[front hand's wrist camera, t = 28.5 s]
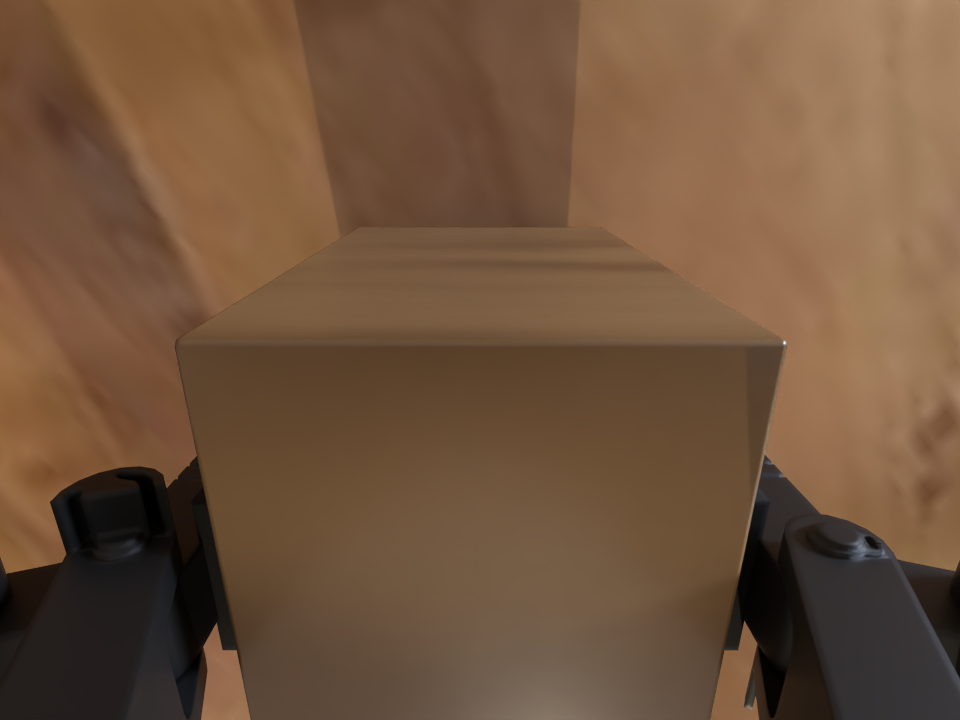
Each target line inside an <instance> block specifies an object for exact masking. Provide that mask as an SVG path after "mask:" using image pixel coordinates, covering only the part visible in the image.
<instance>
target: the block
mask: <svg viewBox="0 0 960 720" xmlns="http://www.w3.org/2000/svg"><path fill="white" fill-rule="evenodd" d="M786 349H787V345H786V341H785V339H783V338H781V337H780V336H778V335H776V334H775V333H773V332H772V331H770V330H768V329H767V328H765V327H763V326H762V325H760V324H759V323H757V322H755V321H754V320H752V319H750V318H749V317H747V316H745V315H744V314H742V313H741V312H739V311H737V310H736V309H734V308H732V307H731V306H729V305H727V304H726V303H724V302H723V301H721V300H719V299H718V298H716V297H714V296H713V295H711V294H710V293H708V292H706V291H705V290H703V289H701V288H700V287H698V286H696V285H695V284H693V283H692V282H690V281H688V280H687V279H685V278H683V277H682V276H680V275H678V274H677V273H675V272H674V271H672V270H670V269H669V268H667V267H665V266H664V265H662V264H661V263H659V262H657V261H656V260H654V259H652V258H651V257H649V256H647V255H646V254H644V253H643V252H641V251H639V250H638V249H636V248H634V247H633V246H631V245H629V244H628V243H626V242H625V241H623V240H621V239H620V238H618V237H616V236H615V235H613V234H612V233H610V232H608V231H607V230H605V229H603V228H601V227H359V228H357V229H355V230H354V231H352V232H350V233H349V234H347V235H345V236H344V237H342V238H341V239H339V240H337V241H336V242H334V243H332V244H331V245H329V246H328V247H326V248H324V249H323V250H321V251H319V252H318V253H316V254H315V255H313V256H311V257H310V258H308V259H306V260H305V261H303V262H302V263H300V264H298V265H297V266H295V267H294V268H292V269H290V270H289V271H287V272H285V273H284V274H282V275H281V276H279V277H277V278H276V279H274V280H272V281H271V282H269V283H268V284H266V285H264V286H263V287H261V288H259V289H258V290H256V291H255V292H253V293H251V294H250V295H248V296H246V297H245V298H243V299H242V300H240V301H238V302H237V303H235V304H233V305H232V306H230V307H229V308H227V309H225V310H224V311H222V312H220V313H219V314H217V315H216V316H214V317H212V318H211V319H209V320H207V321H206V322H204V323H203V324H201V325H199V326H198V327H196V328H194V329H193V330H191V331H190V332H188V333H186V334H185V335H183V336H182V337H180V338H178V339H177V340H176V342H175V350H176V355H177V360H178V365H179V370H180V375H181V379H182V384H183V389H184V394H185V399H186V404H187V409H188V414H189V419H190V424H191V428H192V433H193V438H194V443H195V448H196V453H197V458H198V463H199V468H200V473H201V477H202V482H203V487H204V492H205V497H206V502H207V507H208V512H209V517H210V521H211V526H212V531H213V536H214V541H215V546H216V551H217V556H218V561H219V566H220V570H221V575H222V580H223V585H224V590H225V595H226V600H227V605H228V610H229V615H230V619H231V624H232V629H233V634H234V639H235V644H236V649H237V654H238V659H239V664H240V668H241V673H242V678H243V683H244V688H245V693H246V698H247V703H248V708H249V713H250V717H251V720H710V717H711V712H712V707H713V702H714V697H715V692H716V688H717V683H718V678H719V673H720V668H721V663H722V659H723V654H724V649H725V644H726V639H727V634H728V629H729V625H730V620H731V615H732V610H733V605H734V600H735V596H736V591H737V586H738V581H739V576H740V571H741V567H742V562H743V557H744V552H745V547H746V542H747V537H748V533H749V528H750V523H751V518H752V513H753V508H754V504H755V499H756V494H757V489H758V484H759V479H760V475H761V470H762V465H763V460H764V455H765V450H766V445H767V441H768V436H769V431H770V426H771V421H772V416H773V412H774V407H775V402H776V397H777V392H778V387H779V383H780V378H781V373H782V368H783V363H784V358H785V353H786Z"/></svg>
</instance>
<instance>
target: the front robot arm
mask: <svg viewBox="0 0 960 720" xmlns="http://www.w3.org/2000/svg"><path fill="white" fill-rule="evenodd" d="M50 504H51V507H52V510H53V513H54V516H55V519H56V522H57V525H58V529H59V532H60V535H61V538H62V541H63V544H64V547H65V550H66V553H67V554H66V556H65V558H64V560H63V562H62V563H58V564H53V565H48V566H43V567H38V568H33V569H28V570H23V571H18V572H13V573H8V574H6V572H5V569H4V566H3V564H2V561H1V558H0V720H201V714H202V707H203V700H204V692H205V685H206V678H207V664H206V657H205V653H204V649H203V646H204V644H205V642H206V640H207V639H208V637H209V635H210V633H211V631H212V630H213V628H214V626H215V624H216V623H217V626H218V630H219V635H220V640H221V644H222V649H223V650H237V649H236V644H235V639H234V634H233V629H232V624H231V619H230V615H229V610H228V605H227V600H226V595H225V590H224V585H223V580H222V575H221V570H220V566H219V561H218V556H217V551H216V546H215V541H214V536H213V531H212V526H211V521H210V517H209V512H208V507H207V502H206V497H205V492H204V487H203V482H202V477H201V473H200V468H199V463H198V458H197V456H196V458H195V459H194V460H193V461H192V462H191V463H190V466H187V467H186V468H185V469H184V470H183V471H182V473H181V474H180V475H179V476H178V479H175V480H174V481H173V482H172V483H171V484H170V485H169V486H168V488H167V489H166V485H165V481H164V477H163V474H161V473H160V472H158V471H157V470H155V469H152V468H146V467H125V468H118V469H113V470H109V471H104V472H100V473H97V474H95V475H92V476H89V477H87V478H84V479H82V480H79V481H77V482H76V483H74V484H72V485H70V486H69V487H67V488H65V489H64V490H62V491H61V492H60V493H59V494H58V495H57V496H56V497H55V498H54V499H53V500H52V501H51V502H50ZM744 620H745V622H746V624H747V626H748V627H749V629H750V631H751V633H752V635H753V636H754V638H755V640H756V642H757V643H758V644H757V649H756V653H755V657H754V661H753V666H752V670H751V674H750V679H749V683H748V687H747V692H746V697H745V704H744V707H745V708H749V709H752V708H753V703H754V699H755V697H756V698H757V706H758V713H759V720H960V561H959V564H958V566H957V569H956V572H955V571H950V570H945V569H940V568H935V567H930V566H925V565H920V564H915V563H910V562H905V561H901V560H897V559H896V557H895V555H894V553H893V552H892V551H891V550H890V548H889V547H888V546H887V545H886V544H885V542H884V541H883V540H881V539H880V538H879V537H877V536H876V535H874V534H873V533H871V532H870V531H868V530H867V529H865V528H863V527H860V526H858V525H856V524H854V523H852V522H849V521H847V520H843V519H840V518H836V517H832V516H828V515H821V514H820V513H819V512H818V511H817V510H816V509H815V508H814V507H813V506H812V505H811V503H810V502H809V501H808V500H807V499H806V498H805V497H804V496H803V495H802V494H801V493H800V492H799V491H798V490H797V489H796V487H795V486H794V485H793V484H792V483H791V482H790V481H789V480H788V479H787V478H786V477H783V474H782V473H781V472H780V470H779V469H778V468H777V467H776V466H775V465H771V461H770V460H769V459H768V458H767V457H766V456H765V455H764V460H763V465H762V470H761V475H760V479H759V484H758V489H757V494H756V499H755V504H754V508H753V513H752V518H751V523H750V528H749V533H748V537H747V542H746V547H745V552H744V557H743V562H742V567H741V571H740V576H739V581H738V586H737V591H736V596H735V600H734V605H733V610H732V615H731V620H730V625H729V629H728V634H727V639H726V644H725V649H724V650H738V647H739V643H740V638H741V633H742V629H743V624H744Z"/></svg>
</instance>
